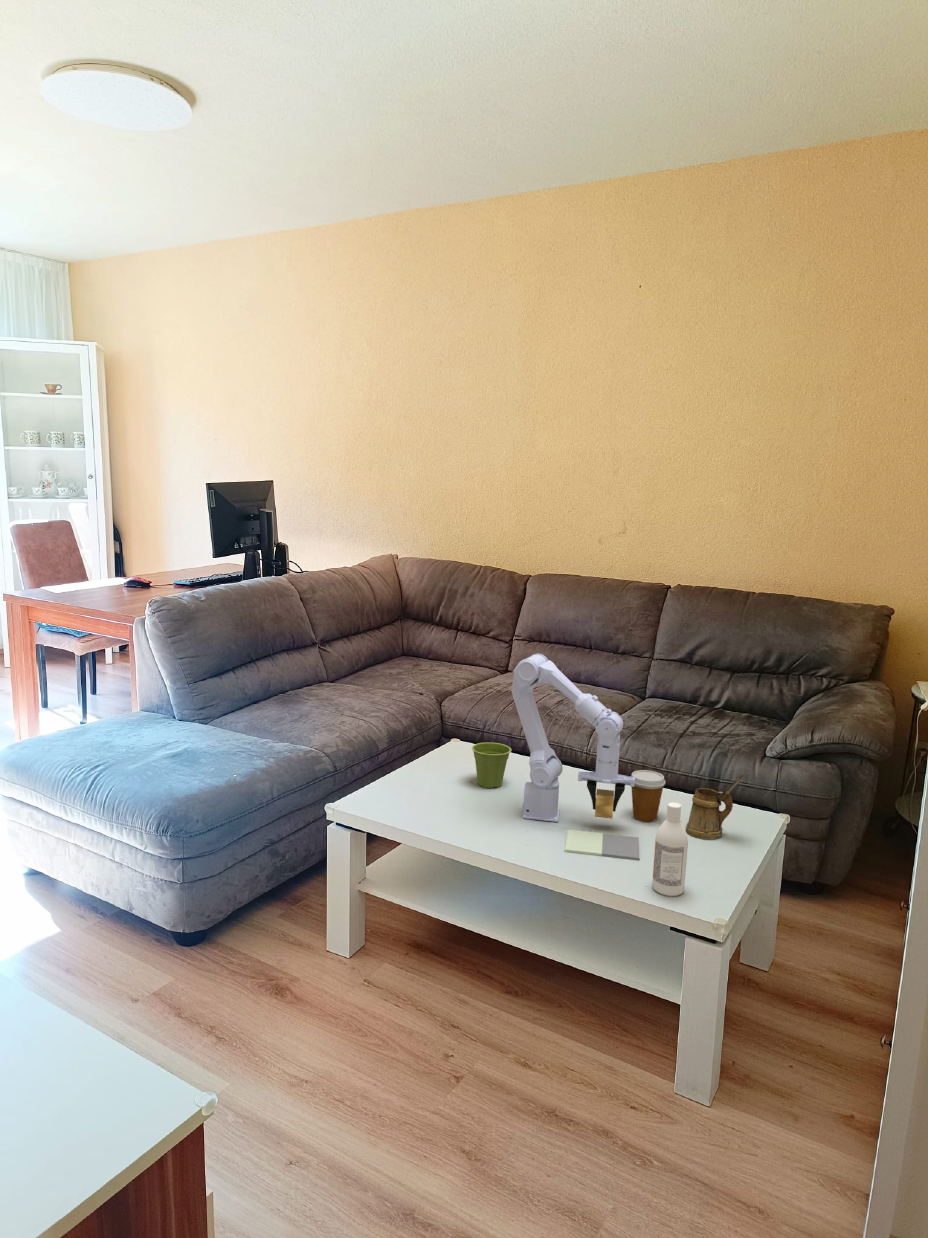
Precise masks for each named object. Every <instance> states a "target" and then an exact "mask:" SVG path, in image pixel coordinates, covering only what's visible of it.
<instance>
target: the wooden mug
mask: <svg viewBox="0 0 928 1238" xmlns="http://www.w3.org/2000/svg"><path fill="white" fill-rule="evenodd" d="M744 778H745V776H744V774H742V775H740V776H739V777H738V778H736V780H735V781H734V782H733V783H732V784H731V785H730V786H729V787H727V788H725V790H723V791H717V790H714V789H711V788H706V787H700V788H696V789H695V791H694V794H693V796H692V797H691V798H692V799H691V800H692V804H691V808H690V809H691V810H690V813H689V818H688V822H686V823H687V824H686V826H685V831H686V833H687V835H689V836H691V837H694V838H696V839H697V838H698V839H702V840H710V841H711V840H716V839H719V838H720V837H722V835H723V827H722V825H723V822H724V820H726V818H728V816H729V815H730V814H731V812H732V810H733V807H734V804H733V798H732V796H731V794H730V793H731V791H732V790H733V789H734V788H735V787H736V786H737V785H738V784H739V783H740V782H741V781H742V780H743V779H744ZM722 803H723V804H724V805H725V807H724V810H720V806H722Z"/></svg>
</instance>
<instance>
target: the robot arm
mask: <svg viewBox="0 0 928 1238" xmlns="http://www.w3.org/2000/svg"><path fill="white" fill-rule="evenodd" d="M512 672H513V678H512V679H513V680H512V683H511V684H512V685H511V690H510V691H511V695H512V698H513V702H514V704H515V707H516V710H517V714H518V717H519V720H520V724H521V726H522V730H523V733H524V736H525V740H526V743H527V746H528V748H529V752H530V754H529V755H530V756H529V760H528V761H529V762H528V765H529V768H530V771H529V777H530V781H526V782H525V783H524V790H523V803H522V818H523V819H527V820H537V821H543V822H544V821H546V822H554V823H555V822H556V823H557V822H559V818H560V812H561V810H560V808H559V794H560V793H559V792H560V781H559V776H561V774H562V772H563V764H562V762H561V760H560V759H559V758H558V757H557V754H556V752H555V750H554V749H553V748H552V747H550V745H549V741H548V739H547V735H546V731H545V728H544V725H543V722H542V719H541V717H540V712H539V709H538V707H537V702H536V699H535V697H534V694H533V690H534V689H535V687H536V686H537V684H546V685H551V686H553V688H555V689H556V690H558V691H559V692H560V693H561V694H563V695H564V696H565V697H567V699H569V700H570V701H571V702H572V703H573V704H574V709H575V711H576V712H577V713H578V714H579V715H581V717H583V718H584V719H585V720H586V721H587V722H588V723H590V725H592V726H593V727H594V728H595V732H596V734H597V737H598V738H597V747H596V760H595V763H596V764H595V771H578V775H577V781H578V782H583V781H584V782H586V789H587V790H588V792H589V796H590V798H591V803H592V810H595V808H596V793H597V784H598V783H602V784H607V785H609V784H610V785H611V784H612V785H614V803H613V813H614V812H616V811H617V806H618V803H619V801H620V800H621V799H620V798H622V795H623V794H624V793H625V790H626V786H629V787H634V784H635V777H631V776H628V775H623V774H619V762H620V761H619V760H620V747H621V743H620V742H621V733H620V732H622V730H623V728H624V721H623V718H622V717H621V715H620V714H619V713H618V712H617V711H612V709H610V708H607V707H606V706H604V704H603V703H601V702H600V701H599V700H598V699H599V697H598V696H597V695H595V694H594V695H592V694H591V693H583V691H581V690H580V689H579V688H578V687H577V686H576V685H575V684H574V683H573V682H572V681H571V680H570V679H569V678H568V677H567V676H566V675H565V674H564V673H563V672H562V671H561V670H560V669H559V668H558V667H557V666H556V664H555V663H554V662H553V661H552V660H550V659H548V658H547V657H546V656H545V655H544V654H542V653H534V654H532V655H530V656H529V657H526V658H524V659H522V660H520V661H519V662H518V663H517V664H516V666H515V668H514V669H513V671H512Z"/></svg>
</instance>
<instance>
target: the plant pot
mask: <svg viewBox="0 0 928 1238" xmlns="http://www.w3.org/2000/svg"><path fill="white" fill-rule="evenodd" d="M471 750H472V752H473V757H474V761H475V768H476V778H477V785H479V786H480V787H481V788H488V789H492V788H500V787H501V786H502V784H503V782H504V781H503V780H504V775H505V771H506V767H507V762H508V760H509V755H510V753H511V752H512V748H511V747H510V746H509V745H507V744H503V743H498V742H492V741H491V742H490V741H489V742H479V743H475V744H473V745H472V746H471Z"/></svg>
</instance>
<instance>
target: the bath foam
mask: <svg viewBox="0 0 928 1238" xmlns="http://www.w3.org/2000/svg"><path fill="white" fill-rule="evenodd" d="M666 808H667V809H666V819H665V820H664V821H663V822H662V824H661V825H660V826H659V828H658V829H657V832H656V836H655V841H654V842H655V843H654V854H653V855H654V856H653V870H652V881H651V882H652V883H651V885H652V886H651V887H652V888H653V890H654V891H655V892H657V893H658V894H661V895H663V896H667V897H676V896H679V895H682V894H683V893H684V890H685V882H686V872H687V871H686V869H687V859H688V844H689V840H688V833H687V832H686V828H685V827H684V826H683V824H682V821H681V815H682V804H680V803H679V802H668V803H667V807H666Z"/></svg>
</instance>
